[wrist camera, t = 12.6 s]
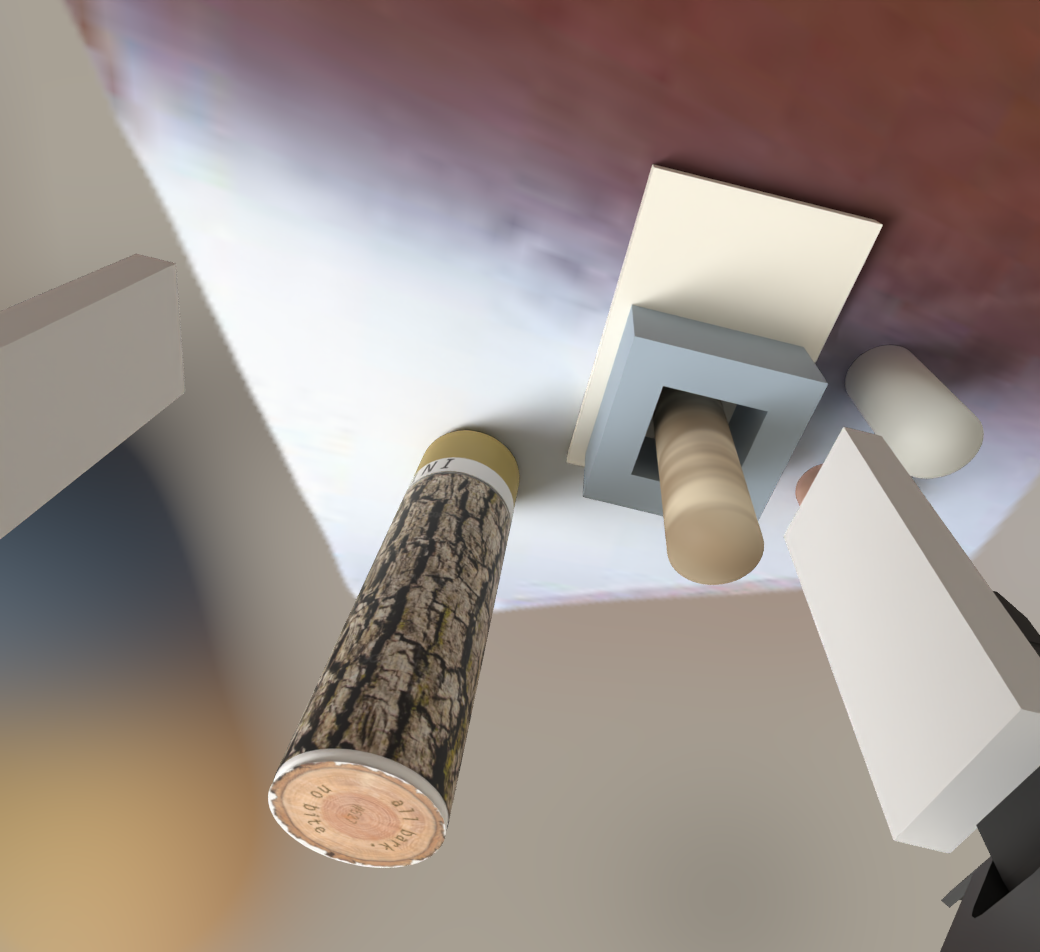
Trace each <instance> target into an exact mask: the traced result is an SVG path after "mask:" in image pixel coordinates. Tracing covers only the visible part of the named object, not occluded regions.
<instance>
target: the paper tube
mask: <svg viewBox="0 0 1040 952" xmlns="http://www.w3.org/2000/svg"><path fill="white" fill-rule="evenodd" d="M518 486H519V469H518V466H517V463H516V460H515V458H514V457H513V455H512V454H511V452H510V451H509V450H508V449H507V447H505V446H504V445H503V444H502V443H501V442H500V441H498V440H497V439H495V438H493V437H491V436H489V435H487V434H484V433H481V432H477V431H470V430H462V431H454V432H450V433H447V434H445V435H443V436H441V437H439V438H438V439H436V440H435V441H434V442H433V443H432V444H431V445H430V446H429V447H428V449H427V450H426V452H425V454H424V456H423V458H422V460H421V462H420V464H419V466H418V469H417V471H416V473H415V475H414V477H413V479H412V481H411V483H410V485H409V487H408V489H407V491H406V494H405V496H404V498H403V500H402V502H401V504H400V507H399V509H398V511H397V513H396V515H395V517H394V519H393V522H392V524H391V526H390V528H389V530H388V532H387V535H386V537H385V539H384V541H383V543H382V545H381V548H380V550H379V552H378V554H377V556H376V558H375V560H374V563H373V565H372V567H371V569H370V571H369V573H368V576H367V578H366V580H365V582H364V584H363V586H362V589H361V591H360V593H359V595H358V597H357V599H356V601H355V604H354V606H353V608H352V610H351V612H350V614H349V617H348V619H347V621H346V623H345V625H344V627H343V630H342V632H341V634H340V636H339V638H338V641H337V643H336V645H335V647H334V649H333V651H332V653H331V655H330V658H329V660H328V662H327V664H326V666H325V668H324V671H323V673H322V675H321V677H320V679H319V681H318V683H317V686H316V688H315V690H314V692H313V695H312V697H311V699H310V701H309V703H308V705H307V707H306V709H305V712H304V714H303V716H302V718H301V720H300V723H299V725H298V727H297V729H296V731H295V733H294V735H293V738H292V740H291V742H290V744H289V746H288V748H287V751H286V753H285V755H284V757H283V759H282V761H281V763H280V766H279V768H278V770H277V772H276V774H275V777H274V781H273V783H272V785H271V787H270V790H269V794H268V802H269V807H270V810H271V813H272V814H273V816H274V818H275V820H276V821H277V822H278V824H279V825H280V826H281V827H282V828H283V829H284V830H285V831H286V832H287V833H288V834H289V835H290V836H292V837H293V838H294V839H295V840H297V841H298V842H300V843H301V844H303V845H304V846H306V847H308V848H310V849H312V850H313V851H316V852H318V853H320V854H322V855H324V856H327V857H330V858H332V859H336V860H339V861H342V862H346V863H349V864H354V865H359V866H366V867H377V868H392V867H401V866H407V865H412V864H415V863H418V862H421V861H423V860H425V859H427V858H429V857H430V856H432V855H433V854H435V853H436V852H437V851H438V850H439V848H440V847H441V845H442V844H443V841H444V839H445V832H446V830H447V827H448V823H449V819H450V814H451V809H452V805H453V800H454V795H455V790H456V785H457V781H458V776H459V771H460V766H461V762H462V757H463V752H464V747H465V742H466V738H467V733H468V728H469V723H470V718H471V713H472V708H473V704H474V699H475V694H476V689H477V685H478V680H479V675H480V670H481V665H482V661H483V656H484V651H485V646H486V642H487V637H488V632H489V627H490V622H491V618H492V613H493V608H494V603H495V598H496V594H497V589H498V584H499V579H500V574H501V570H502V565H503V560H504V555H505V551H506V546H507V541H508V536H509V531H510V527H511V522H512V517H513V511H514V505H515V501H516V496H517V491H518Z"/></svg>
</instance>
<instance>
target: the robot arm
mask: <svg viewBox="0 0 1040 952" xmlns="http://www.w3.org/2000/svg"><path fill="white" fill-rule="evenodd" d="M177 285H178V284H177V271H176V263H173V262H168V261H164V260H160V259H156V258H152V257H148V256H144V255H139V254H134V255H132V256H130V257H127V258H125V259H122V260H120V261H118V262H115V263H113V264H110V265H108V266H106V267H103V268H101V269H99V270H96V271H94V272H91V273H89V274H87V275H85V276H82V277H80V278H77V279H75V280H72V281H70V282H68V283H65V284H63V285H61V286H58V287H56V288H54V289H51V290H49V291H47V292H44V293H42V294H39V295H37V296H34V297H32V298H30V299H27V300H25V301H23V302H21V303H18V304H15V305H13V306H11V307H8V308H6V309H4V310H1V311H0V539H1V538H2V537H4V536H5V535H6V534H7V533H9V532H10V531H11V530H12V529H14V528H15V527H16V526H17V525H19V524H20V523H21V522H22V521H24V520H25V519H26V518H27V517H29V516H30V515H31V514H32V513H34V512H35V511H36V510H37V509H39V508H40V507H41V506H42V505H44V504H45V503H46V502H48V501H49V500H50V499H51V498H52V497H54V496H55V495H56V494H58V493H59V492H60V491H61V490H63V489H64V488H65V487H66V486H68V485H69V484H70V483H71V482H73V481H74V480H75V479H76V478H78V477H79V476H80V475H81V474H83V473H84V472H85V471H87V470H88V469H89V468H90V467H92V466H93V465H94V464H95V463H97V462H98V461H99V460H100V459H102V458H103V457H104V456H105V455H107V454H108V453H109V452H110V451H112V450H113V449H114V448H115V447H117V446H118V445H119V444H120V443H121V442H123V441H124V440H125V439H127V438H128V437H129V436H130V435H132V434H133V433H134V432H136V431H137V430H138V429H139V428H140V427H141V426H143V425H144V424H146V423H147V422H148V421H149V420H151V419H152V418H153V417H154V416H156V415H157V414H158V413H159V412H161V411H162V410H163V409H164V408H166V407H167V406H168V405H169V404H171V403H172V402H173V401H174V400H176V399H177V398H178V397H179V396H181V395H182V394H183V393H184V392H185V384H184V369H183V355H182V341H181V327H180V313H179V299H178V286H177ZM784 539H785V542H786V544H787V547H788V550H789V553H790V555H791V558H792V561H793V564H794V566H795V569H796V572H797V575H798V577H799V580H800V583H801V586H802V588H803V591H804V594H805V597H806V599H807V602H808V605H809V607H810V611H811V613H812V616H813V618H814V621H815V624H816V627H817V630H818V632H819V635H820V638H821V641H822V644H823V646H824V649H825V652H826V655H827V657H828V660H829V663H830V666H831V668H832V671H833V674H834V677H835V679H836V682H837V685H838V688H839V690H840V693H841V696H842V698H843V702H844V704H845V707H846V710H847V712H848V715H849V718H850V721H851V724H852V726H853V729H854V732H855V734H856V737H857V740H858V743H859V746H860V748H861V751H862V754H863V757H864V759H865V762H866V765H867V768H868V770H869V773H870V776H871V779H872V782H873V784H874V787H875V790H876V793H877V795H878V798H879V801H880V804H881V806H882V809H883V811H884V814H885V817H886V820H887V823H888V826H889V828H890V831H891V834H892V837H893V839H894V841H898V842H903V843H907V844H911V845H916V846H920V847H924V848H928V849H933V850H937V851H941V852H946V853H950V852H952V851H953V850H954V849H955V848H956V847H957V846H958V845H959V844H960V843H961V842H962V841H964V840H965V839H966V838H967V837H968V836H969V835H970V834H971V833H972V832H973V831H974V830H976V829H977V828H978V830H979V832H980V834H981V836H982V838H983V840H984V842H985V845H986V847H987V849H988V851H989V853H990V855H991V856H990V858H988V859H987V860H986V861H985V862H984V863H982V864H981V865H980V866H979V867H978V868H977V869H975V870H974V871H973V872H972V873H971V874H970V875H969V876H967V877H966V878H965V879H964V880H963V881H962V882H961V883H959V884H958V885H957V886H956V887H955V888H954V889H953V890H951V891H950V892H949V893H948V894H947V895H946V896H945V897H944V898H943V899H942V900H941V901H942V902H944V903H945V904H946V905H947V906H948V907H949V908H950V907H951V906H952V905H953V904H954V903H956V902H957V901H958V900H962V902H961V904H960V906H959V909H958V911H957V913H956V915H955V918H954V920H953V923H952V925H951V927H950V930H949V932H948V934H947V937H946V939H945V942H944V944H943V946H942V948H941V951H940V952H1040V635H1039V634H1038V632H1037V631H1036V629H1035V628H1034V627H1033V626H1032V624H1031V623H1030V621H1029V620H1028V619H1027V618H1026V617H1025V616H1024V615H1023V614H1022V613H1021V612H1019V611H1018V610H1017V609H1016V608H1015V607H1014V606H1013V605H1012V604H1010V603H1009V602H1008V601H1007V600H1006V599H1005V598H1004V597H1002V596H1001V595H1000V594H999V593H998V592H995V591H992V590H991V588H990V587H989V585H988V584H987V583H986V581H985V580H984V579H983V577H982V576H981V574H980V573H979V572H978V570H977V569H976V567H975V566H974V565H973V563H972V562H971V560H970V559H969V557H968V556H967V555H966V553H965V552H964V550H963V549H962V548H961V546H960V545H959V543H958V542H957V541H956V539H955V538H954V537H953V535H952V534H951V532H950V531H949V530H948V528H947V527H946V525H945V524H944V523H943V521H942V520H941V518H940V517H939V516H938V514H937V513H936V511H935V510H934V509H933V507H932V506H931V504H930V503H929V502H928V500H927V499H926V497H925V496H924V495H923V493H922V492H921V490H920V489H919V488H918V486H917V485H916V483H915V482H914V481H913V479H912V478H911V476H910V475H909V474H908V472H907V471H906V469H905V468H904V467H903V465H902V464H901V462H900V461H899V460H898V458H897V457H896V455H895V454H894V453H893V451H892V450H891V448H890V447H889V446H888V444H887V443H886V441H885V440H884V439H883V437H882V436H880V435H875V434H871V433H867V432H863V431H859V430H855V429H851V428H847V427H843V428H842V430H841V432H840V434H839V436H838V438H837V439H836V441H835V443H834V445H833V447H832V449H831V450H830V452H829V454H828V456H827V458H826V460H825V461H824V463H823V465H822V467H821V469H820V471H819V472H818V474H817V476H816V478H815V480H814V482H813V483H812V485H811V487H810V489H809V491H808V493H807V494H806V496H805V498H804V500H803V502H802V504H801V505H800V507H799V509H798V511H797V513H796V514H795V516H794V518H793V520H792V522H791V524H790V525H789V527H788V529H787V531H786V533H785V535H784Z"/></svg>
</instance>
